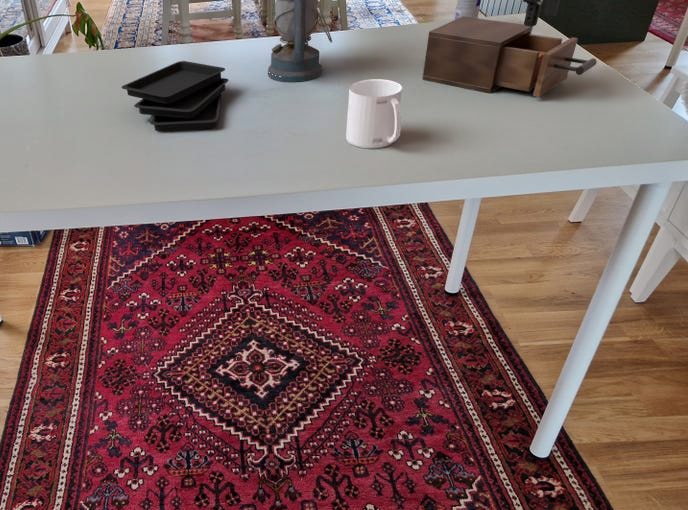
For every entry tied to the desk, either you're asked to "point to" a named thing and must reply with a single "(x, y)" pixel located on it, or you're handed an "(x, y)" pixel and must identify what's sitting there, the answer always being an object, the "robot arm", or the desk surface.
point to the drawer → (521, 63)
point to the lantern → (296, 41)
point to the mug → (374, 113)
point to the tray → (180, 96)
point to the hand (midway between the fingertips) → (539, 20)
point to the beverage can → (467, 8)
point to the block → (538, 64)
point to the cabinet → (468, 52)
